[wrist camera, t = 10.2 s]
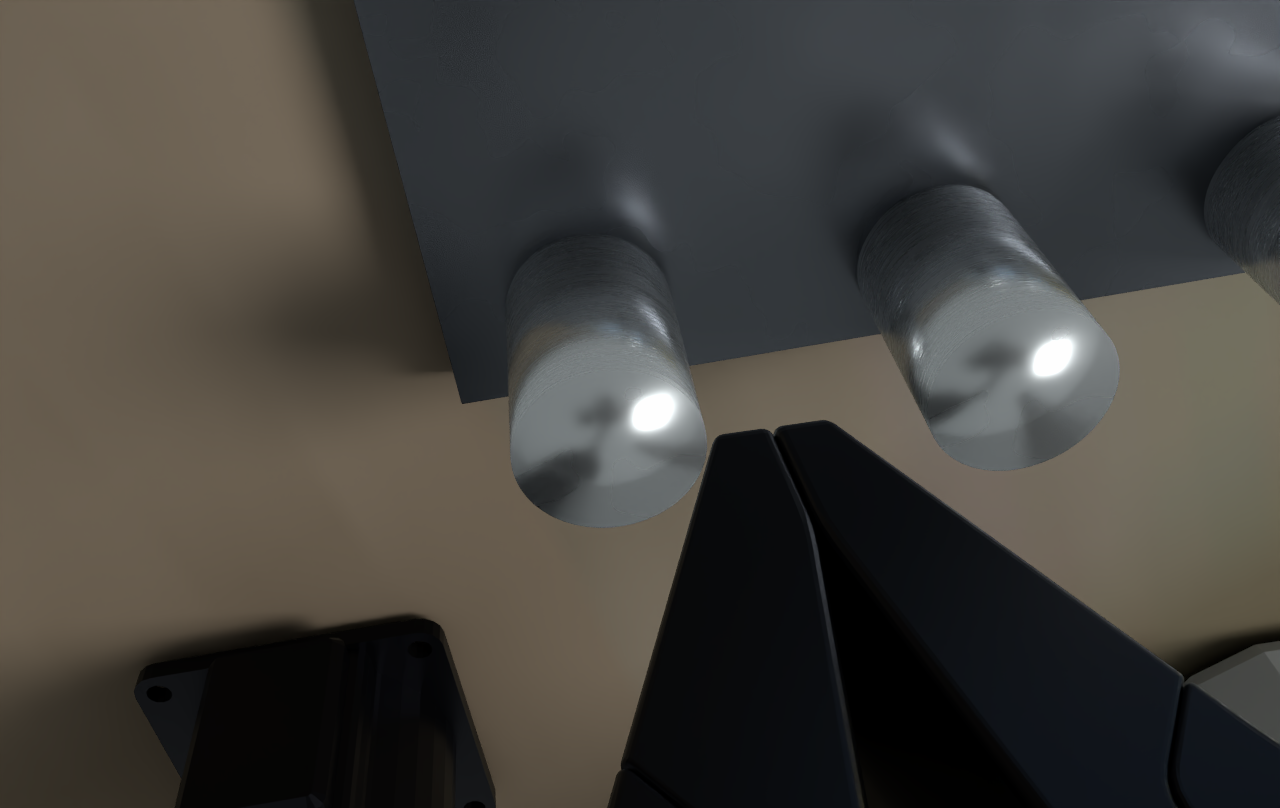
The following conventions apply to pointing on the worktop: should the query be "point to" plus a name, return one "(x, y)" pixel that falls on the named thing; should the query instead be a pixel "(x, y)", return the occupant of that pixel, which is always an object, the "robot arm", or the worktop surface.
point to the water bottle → (1248, 685)
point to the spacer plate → (814, 205)
